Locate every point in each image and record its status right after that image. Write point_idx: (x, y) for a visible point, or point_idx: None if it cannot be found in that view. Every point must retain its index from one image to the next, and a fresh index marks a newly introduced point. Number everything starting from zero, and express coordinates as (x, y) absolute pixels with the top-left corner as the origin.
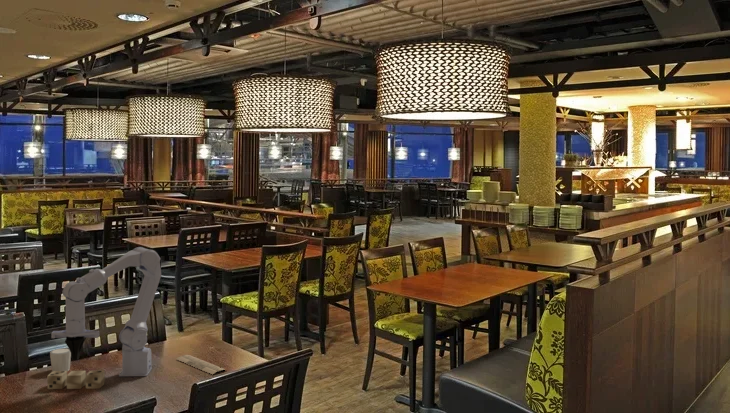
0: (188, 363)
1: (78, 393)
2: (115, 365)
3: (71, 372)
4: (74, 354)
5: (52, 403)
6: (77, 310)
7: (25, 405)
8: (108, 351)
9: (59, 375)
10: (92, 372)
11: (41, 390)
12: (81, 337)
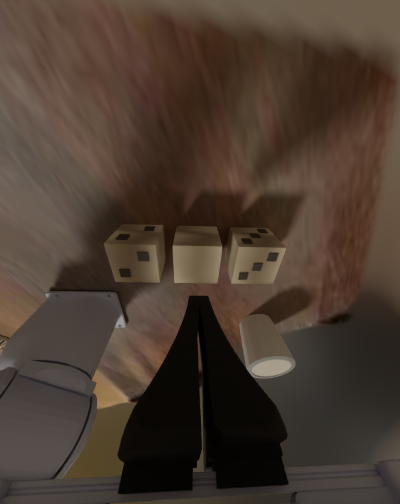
0: (5, 341)
1: (168, 184)
2: (157, 338)
3: (214, 271)
4: (201, 319)
5: (229, 72)
6: None
7: (333, 56)
8: None
9: (246, 248)
10: (144, 267)
11: (283, 219)
12: (135, 482)
